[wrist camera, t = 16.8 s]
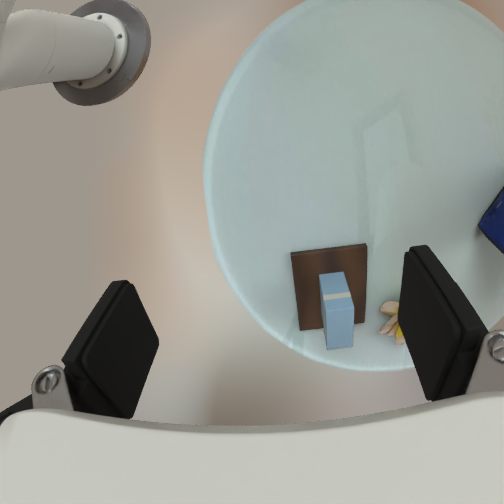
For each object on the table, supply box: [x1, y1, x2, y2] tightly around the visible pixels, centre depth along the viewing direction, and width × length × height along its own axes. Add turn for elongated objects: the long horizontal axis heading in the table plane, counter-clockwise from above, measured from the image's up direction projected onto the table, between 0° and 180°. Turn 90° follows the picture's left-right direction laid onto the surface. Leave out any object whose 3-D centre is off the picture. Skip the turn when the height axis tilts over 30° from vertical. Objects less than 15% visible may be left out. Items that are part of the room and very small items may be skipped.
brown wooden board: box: [291, 243, 367, 331], centre depth 51 cm, size 12×16×1 cm
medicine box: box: [319, 272, 354, 350], centre depth 47 cm, size 4×8×9 cm, turn 10°
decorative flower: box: [378, 301, 406, 345], centre depth 48 cm, size 15×11×10 cm
